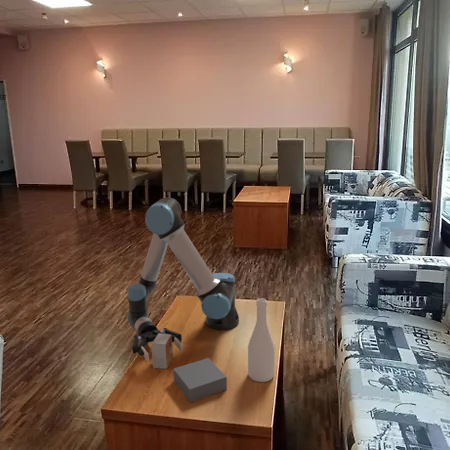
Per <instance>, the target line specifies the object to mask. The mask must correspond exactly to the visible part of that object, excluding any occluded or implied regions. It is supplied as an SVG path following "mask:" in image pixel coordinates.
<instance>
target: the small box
mask: <svg viewBox="0 0 450 450" xmlns="http://www.w3.org/2000/svg"><path fill="white" fill-rule="evenodd" d="M150 343H151V356H152V357H151V359H152V368H154V369H161V370H162V369H163V370H167V369H168V367H169V366H170V364H171V362H172V360H173V359H174V355H173V342H172V335H171V334H161V333H158V335H157V337H156V338H155V339H154V341H153V342H150Z"/></svg>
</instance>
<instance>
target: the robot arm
mask: <svg viewBox="0 0 450 450" xmlns="http://www.w3.org/2000/svg"><path fill="white" fill-rule="evenodd" d="M181 215H182V207H181V204H180V203H179V201H177V200H176V199H174V198H172V197H167V196H166V197H162V198H159V200H158V201H156V202H155V203H153V204H151V206H150V207H149V208H148V209H147V211H146V213H145V217H144V221H145V224H146V227H147V229H148V230H149V231H150V232H151V233H153V234H152V237H151V241H150V244H149V248H148V251H147V254H146V258H145V261H144V263H143V267H142V271H141V275H140V277H139V281H138V283H134V284H132V285H129V286H128V288H127V299H128V310H129V311H128V313H127V321H128V323H129V325H130V326H131V327H132V329H134V332H136V334H137V335H134V336H133V338H134V340H133V344H132V347H131V348H132V354H136V353H137V355H138V356H141V357H142V356H143V358H144V359H145V361H146V362H149V361H150V357H149V356H150V355H149V352H148V351H147V350H146V347H147V346H148V344H149V343H152V342H153V341H154V339H155V338H156V337H157V335H158V333H161V334H171V335H172V343H173V344H174V345H175V346H176V348H177V349H178V350H179V351H180V352H183V351H184V348H183V344H182V340H183V339H182V335H183V334H181V333H178V332H176V331H173V330H170V329H168V328H167V327H163V328H162V330H159V329H158V327H157V326H156V325H155V323H154V322H153V321H152V320H151V319H150V318H149V316H148V307H147V306H148V305H147V301H148V299H149V298H150V297H151V295H152V294H153V293H154V291H155V290H156V288H157V285H158V284H157V281H158V277H159V275H160V271H161V267H162V265H163V261H164V258H165V255H166V252H167V248H168V247H169V248H170V250H171V251H172V253H173V254H174V256H175V257H176V259H177V261H178V262H179V263H180V265H181V266H182V268H183V269H184V271H185V273H186V274H187V276H188V278H189V279H190V281H191V282H192V284H193V285H194V287H195V288H196V293H195V295H196V296H197V298H198V300H199V301H200V303H201V304H200V305H201V306H200V307H201V311H202V313H203V314H204V315H205V324H206V325H207V327H208V328H211V329H214V330H219V331H221V330H232V329H233V328H236V327H237V326H238V325H239V323H240V317H239V316H240V315H239V313H238V311H237V307H236V289H235V288H236V287H235V285H236V279H235V276H234V275H233V274H231V273H228V272H216V273H213V272H211V270H210V269H209V266H207V265H208V264H206V262H205V260H204V259H203V257H202V256H201V254H200V253H199V251H198V250H197V248H196V247H195V245H194V243H193V242H192V241H191V239H190V237H189V236H188V234H187V233H186V231H185V225H186V224H185V222H184V221H183V220H182V218H181Z"/></svg>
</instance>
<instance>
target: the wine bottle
mask: <svg viewBox="0 0 450 450" xmlns="http://www.w3.org/2000/svg"><path fill="white" fill-rule="evenodd" d="M255 304H256V321H255V325H254V327H253V331H252V334H251V336H250V339H249V342H248V345H247V374H248V377H249V378H250V379H251V380H253V381H254V382H257V383H265V382H269V381H271V380H272V379H273V378H274V376H275V359H276V358H275V357H276V356H275V354H276V352H275V349H276V347H275V343H274V340H273V337H272V334H271V332H270V329H269V325H268V322H267V306H268V301H267V299H266V298H263V297H260V298H257V299H256V303H255Z"/></svg>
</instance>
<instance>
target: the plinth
mask: <svg viewBox="0 0 450 450" xmlns="http://www.w3.org/2000/svg"><path fill="white" fill-rule="evenodd" d="M172 370H173V371H172V372H173V382H174V384H176V387H178V388H179V390H180V391H181V393H183V395H184V396H185V398H186V399H187V400H188V402H189V403H193V402H195V401H199V400H201V399H204V398H207V397H210V396H212V395H215V394H218V393H222V392H224V391H227V389H228V388H227V387H228V386H227V384H228V382H227V381H228V380H227V376H226V375H225V374H224V372H223V371H221V369H220V368H219V367H218V366H216V364H215V363H214V362H213V361H212V360H211V359H210V358H209V357H206V358H204V359H201V360H197V361H195V362H190V363H188V364H184V365H181V366H178V367H174V368H173V369H172Z"/></svg>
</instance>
